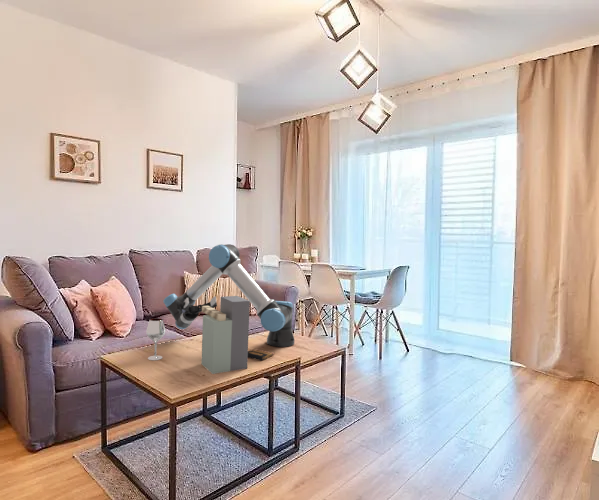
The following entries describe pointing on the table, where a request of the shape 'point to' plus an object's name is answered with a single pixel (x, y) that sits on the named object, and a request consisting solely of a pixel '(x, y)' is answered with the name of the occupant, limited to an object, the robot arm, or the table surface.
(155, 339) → the wineglass
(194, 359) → the table surface
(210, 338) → the step stand
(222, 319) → the beech bar
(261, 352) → the ammunition clip
